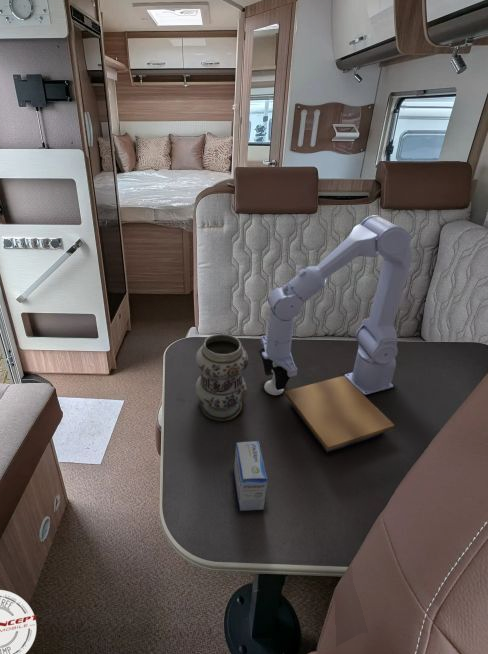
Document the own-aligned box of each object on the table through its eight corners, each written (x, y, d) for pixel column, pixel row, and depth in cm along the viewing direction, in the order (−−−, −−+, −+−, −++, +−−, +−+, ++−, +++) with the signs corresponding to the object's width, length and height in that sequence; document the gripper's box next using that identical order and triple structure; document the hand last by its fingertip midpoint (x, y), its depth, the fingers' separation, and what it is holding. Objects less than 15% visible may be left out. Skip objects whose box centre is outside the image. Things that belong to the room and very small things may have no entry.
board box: (340, 387, 94) (343, 375, 92) (390, 438, 79) (394, 425, 77) (283, 403, 88) (284, 391, 86) (325, 461, 74) (328, 447, 72)
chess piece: (283, 396, 90) (287, 364, 86) (263, 393, 91) (266, 361, 87) (283, 383, 95) (287, 352, 90) (264, 380, 96) (267, 349, 91)
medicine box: (233, 472, 71) (235, 441, 68) (255, 470, 72) (258, 439, 68) (239, 512, 64) (242, 480, 61) (264, 510, 65) (268, 478, 61)
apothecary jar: (235, 384, 94) (238, 325, 86) (253, 418, 84) (258, 355, 76) (190, 393, 91) (189, 333, 83) (203, 429, 81) (203, 365, 73)
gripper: (251, 323, 91) (248, 367, 97) (280, 357, 79) (274, 404, 85) (276, 319, 93) (271, 361, 99) (307, 351, 81) (300, 397, 87)
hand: (274, 381), depth 92 cm, fingers open, 5 cm apart
